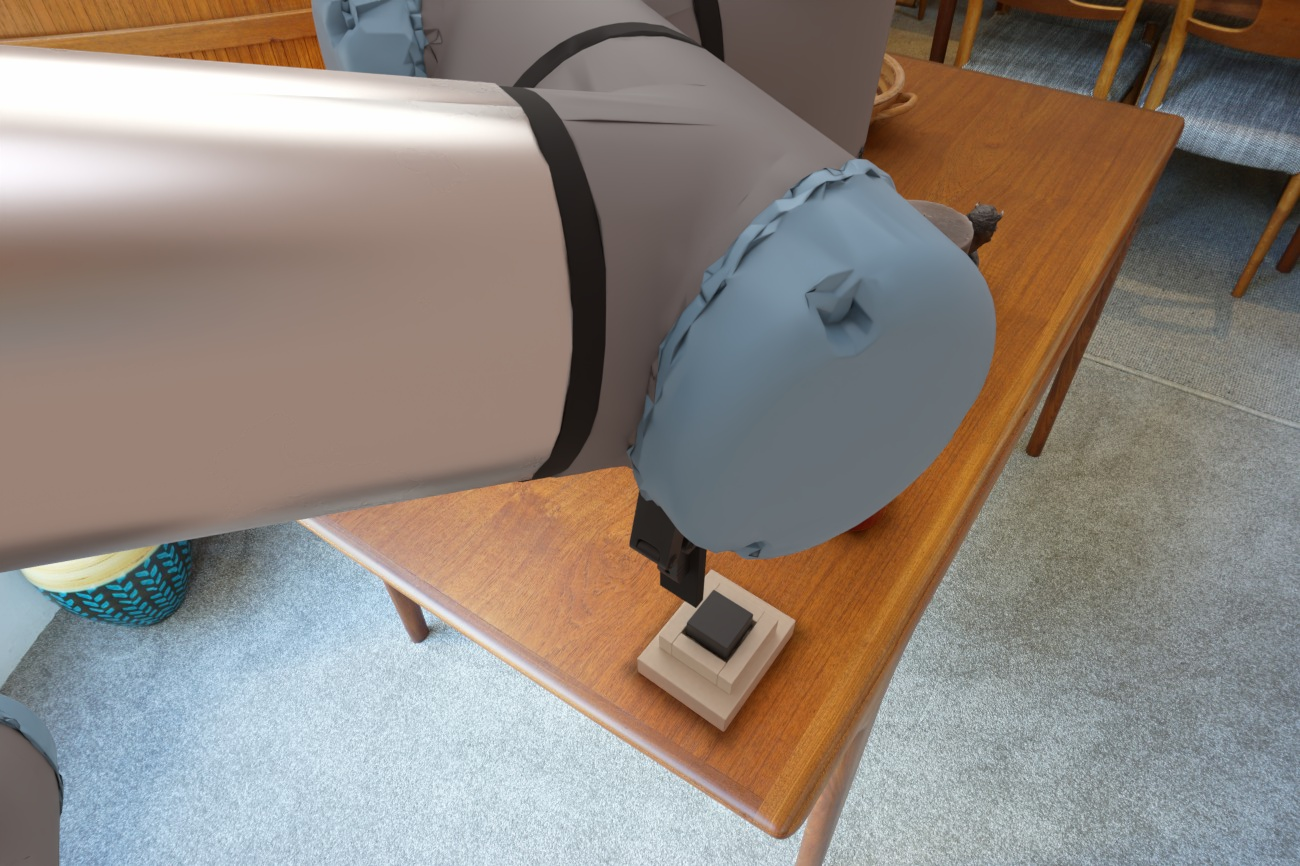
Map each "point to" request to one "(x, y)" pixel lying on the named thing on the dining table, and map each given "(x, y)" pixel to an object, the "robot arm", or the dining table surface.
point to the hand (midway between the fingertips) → (728, 536)
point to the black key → (719, 624)
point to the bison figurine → (982, 227)
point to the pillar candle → (947, 222)
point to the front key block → (716, 656)
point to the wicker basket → (891, 92)
